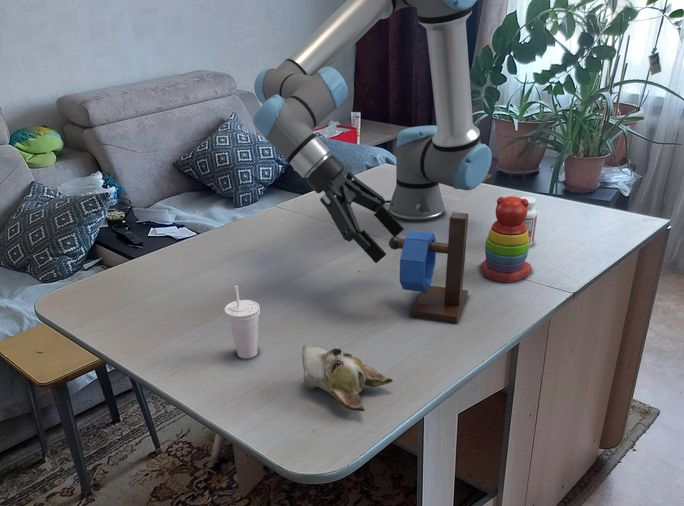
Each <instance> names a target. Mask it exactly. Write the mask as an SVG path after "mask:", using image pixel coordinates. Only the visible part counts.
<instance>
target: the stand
mask: <svg viewBox="0 0 684 506" xmlns="http://www.w3.org/2000/svg"><path fill="white" fill-rule="evenodd" d="M468 223H469V213H466V212H455V211H454V212H451V214H450V217H449V225H448V240H447V242H446V243H445V242H438V241H437V242H431V243H430V245H429V248H428V252H435V253H436V254H444V255H445V254H446V255H447V256H446V268H445V269H446V272H445V284H444V285H445V287H444V286H437V285H430V287H429V288H428V290H427V292H421V294H420V296H419V297H418V300H417V302H416V303H415V305H414V307H413V308H412V313H411V316H412V318H417V319H423V320H431V321H437V322H445V323H450V324H451V323H452V324H457V323H458V321H459V318H460V316H461V313H462V311H463V309H464V306H465V303H466V301H467V298H468V296H469V295H468V294H469V290H468V289H463V288H464V287H463V286H464V276H465V275H464V274H465V262H466V250H467V249H466V248H467V237H468V226H469V225H468ZM404 240H405V238H400V237H398V236H395V237H393V236H392V237H390V239H388V246H389V248H390V249H392V250H398V249H399V250H402V249H403V244H404Z"/></svg>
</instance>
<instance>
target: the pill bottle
mask: <svg viewBox="0 0 684 506" xmlns="http://www.w3.org/2000/svg"><path fill="white" fill-rule="evenodd" d="M519 198H521V199H527V200H528V202H529V205H528V206H527V209H528V211H527V216H526V218H525V220H524V222H523V223H524V224H525V225H526V227H527V230H528V235H529V247H530V246H532V245H533V244H534V241H535V234H536V227H537V219H538V210H537V209H536V204H537V203H536V202H537V199H535V198H534V197H531V196H519Z"/></svg>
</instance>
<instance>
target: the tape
mask: <svg viewBox="0 0 684 506" xmlns="http://www.w3.org/2000/svg"><path fill="white" fill-rule="evenodd" d="M404 239H405V240H404V244H403V249H401V252H400V253H401V254H400V258H399V279H398V280H399V281H398V282H399V283H400V285H401V286H400V287H401V288H402V290H404V291H412V292H418V293H422V292H427V290H428V288H429V287H430V286H432V282H433V277H434V272H435V267H436V262H437V253H435V252H428V248H429V245H430V243H431V242H438V241H437V237H436V234H435V232H431V231H421V230H410V231H408V233H407V234H406V236H405V237H404Z"/></svg>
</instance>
